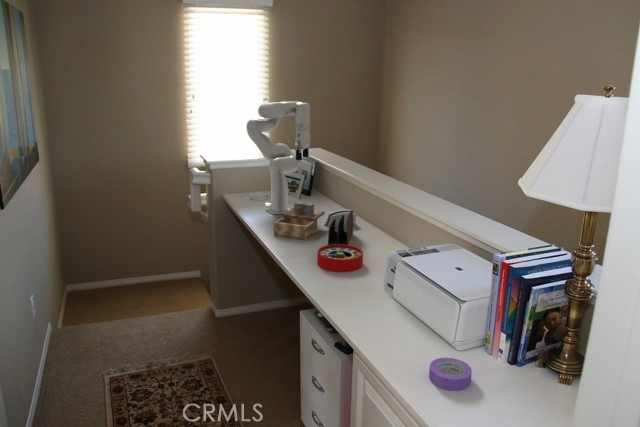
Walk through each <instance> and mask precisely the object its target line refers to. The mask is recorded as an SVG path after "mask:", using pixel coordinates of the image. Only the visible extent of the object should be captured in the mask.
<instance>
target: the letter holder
mask: <svg viewBox="0 0 640 427" xmlns="http://www.w3.org/2000/svg"><path fill="white" fill-rule="evenodd" d="M350 210H351V211H350V213H349V215H348V218H347V225H346V231H345V226H344V215H342V217H341V219H340V221H339V224H338V226H337V230H336V227H335V222H336V220H335V219H334V220H333V221H332V223H331V225H330V227H328V235H327V236H328V237H327V245H335V244H342V245H349V244H350V242H351V240H352V237H353V235H354V225H353V211H354V210H353V209H350Z"/></svg>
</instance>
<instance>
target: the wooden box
mask: <svg viewBox="0 0 640 427" xmlns="http://www.w3.org/2000/svg"><path fill="white" fill-rule="evenodd" d="M317 233H318V219H317V220H315V221H314V220H306V219H298V218H290V217H283V216H282V217H280V218H279V219H277V220H276V221H274V222H273V236H274V237H279V238H285V239H286V238H287V239H292V240H302V241H308V240H310V239H311V238H312V237H313V236H315V235H316V234H317Z"/></svg>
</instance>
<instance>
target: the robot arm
mask: <svg viewBox="0 0 640 427" xmlns="http://www.w3.org/2000/svg"><path fill="white" fill-rule="evenodd" d="M257 113H258V115H259V116H260V117H255V118H251V119H249V120H248V121H247V123H246V133H247V135H248V137H249V138H250V140H251V141H252V142H253V143H254V144H255V145H256V147H257V148H258V150H259V151H260V153H261V154H262V156H263V157H264V158H265V160H267V161H268V162H269V164H268V167H269V168H268V169H269V173H270V192H271V193H270V194H271V195H270V196H271V197H270V203H269V202H265V203H264V204H265V205H264V206H265V208H269V209H268V212H269V214H272V215H273V214H274V215H283V214H284V213H286V212H287V211H289V210H291V208H289V204H288V202H289V200H288V198H289V195H288V193H289V190H288V189H289V184H288V179H287V177H286V176H285V174H291V173H295V172H297V171H298V170H299V167H300V165H299V161H302V159H303V158H309V150H310V146H311V134H310V129H311V128H310V125H311V124H310V123H311V105H310V104H309V103H308V102H302V101H297V100H294V101H280V102H279V101H275V102H266V103H262V104H260V106H259V107H258V109H257ZM292 116H293V117H295V124H294V125H295V127H294V128H295V141H294V142H295V143H294V144H295V145H294V149H295V154H294V152H293V151H292V149H291V148H290V147H289V146H288V145H287V144H285V143H283V142H282V143H281V142H280V143H273V141H272V140H271V139H270V137H269V136H267V135H266V134H265V133H268V132H269V133H270V132H274V131H275V130H276V128H277V126H278V125H279V123H280V121H281V119H282V117H292Z"/></svg>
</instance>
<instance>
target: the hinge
mask: <svg viewBox="0 0 640 427" xmlns="http://www.w3.org/2000/svg"><path fill="white" fill-rule="evenodd" d="M351 210H352V209H339V210H335V211H331V212H329V214H328V215H327V218H326V221H325V222H324V226H326V228H330V225H331V223H332V221H333V220H334V219H335V220H336V222H335V228H338V224H339V221H340V219H341V217H342V215H344V227H345V226H347V218H348V215H349V213H350V211H351ZM356 220H357V214H356V212H355V211H354V210H353V224H354V225H356Z"/></svg>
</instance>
